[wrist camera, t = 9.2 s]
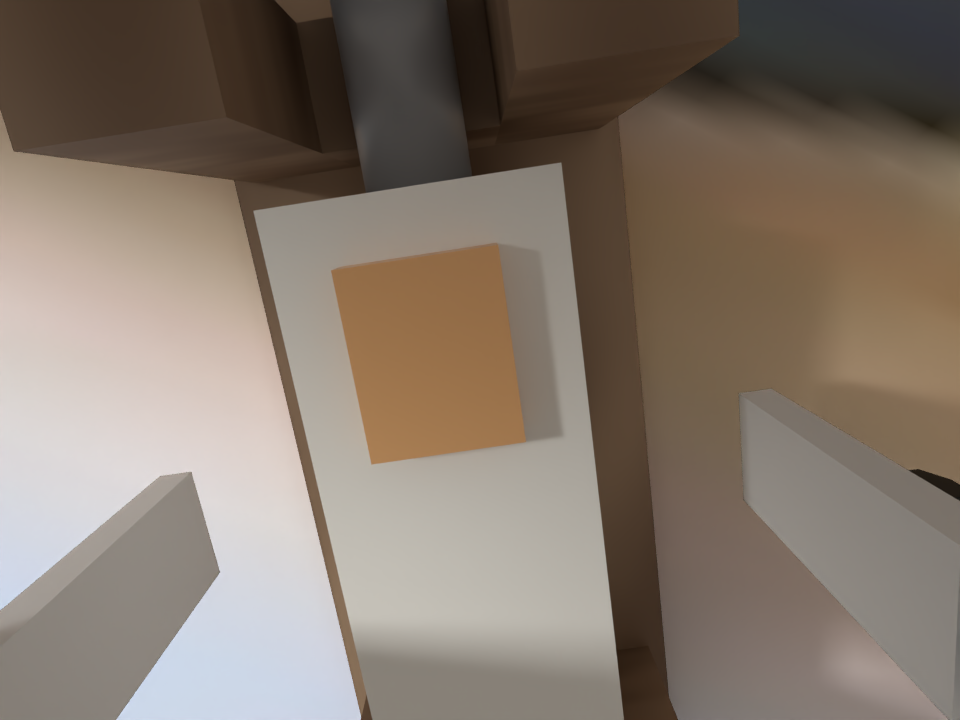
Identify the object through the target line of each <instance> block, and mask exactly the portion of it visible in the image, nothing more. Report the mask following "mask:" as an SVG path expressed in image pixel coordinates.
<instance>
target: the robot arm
mask: <svg viewBox="0 0 960 720" xmlns="http://www.w3.org/2000/svg"><path fill="white" fill-rule="evenodd" d="M739 414H740V435H741V456H742V477H743V498H744V501H745V502H746V503H747V504H748V505H749V506H750V507H751V508H752V509H753V510H754V512H755V513H756V514H757V515H758V516H759V517H760V518H761V519H762V520H763V521H764V522H765V523H766V524H767V525H768V527H769V528H770V529H771V530H772V531H773V532H774V533H775V534H776V535H777V536H778V537H779V538H780V539H781V540H782V542H783V543H784V544H785V545H786V546H787V547H788V548H789V549H790V550H791V551H792V552H793V553H794V554H795V556H796V557H797V558H798V559H799V560H800V561H801V562H802V563H803V564H804V565H805V566H806V567H807V568H808V569H809V571H810V572H811V573H812V574H813V575H814V576H815V577H816V578H817V579H818V580H819V581H820V582H821V583H822V584H823V586H824V587H825V588H826V589H827V590H828V591H829V592H830V593H831V594H832V595H833V596H834V597H835V598H836V599H837V601H838V602H839V603H840V604H841V605H842V606H843V607H844V608H845V609H846V610H847V611H848V612H849V613H850V614H851V616H852V617H853V618H854V619H855V620H856V621H857V622H858V623H859V624H860V625H861V626H862V627H863V628H864V630H865V631H866V632H867V633H868V634H869V635H870V636H871V637H872V638H873V639H874V640H875V641H876V642H877V643H878V645H879V646H880V647H881V648H882V649H883V650H884V651H885V652H886V653H887V654H888V655H889V656H890V657H891V658H892V660H893V661H894V662H895V663H896V664H897V665H898V666H899V667H900V668H901V669H902V670H903V671H904V672H905V673H906V675H907V676H908V677H909V678H910V679H911V680H912V681H913V682H914V683H915V684H916V685H917V686H918V687H919V688H920V690H921V691H922V692H923V693H924V694H925V695H926V696H927V697H928V698H929V699H930V700H931V701H932V702H933V703H934V705H935V706H936V707H937V708H938V709H939V710H940V711H941V712H942V713H943V714H944V715H945V716H946V717H947V719H948V720H960V484H958V483H956V482H954V481H953V480H950V479H947V478H944V477H941V476H938V475H935V474H932V473H928V472H925V471H922V470H919V469H916V470H907V469H905V468H904V467H902V466H900V465H899V464H897V463H895V462H893V461H892V460H890V459H888V458H887V457H885V456H883V455H882V454H880V453H878V452H877V451H875V450H873V449H872V448H870V447H868V446H867V445H865V444H863V443H862V442H860V441H858V440H857V439H855V438H853V437H852V436H850V435H848V434H847V433H845V432H843V431H842V430H840V429H838V428H837V427H835V426H833V425H832V424H830V423H828V422H826V421H825V420H823V419H821V418H820V417H818V416H816V415H815V414H813V413H811V412H810V411H808V410H806V409H805V408H803V407H801V406H800V405H798V404H796V403H795V402H793V401H791V400H790V399H788V398H786V397H785V396H783V395H781V394H780V393H778V392H776V391H775V390H773V389H765V390H758V391H751V392H744V393H739ZM219 573H220V571H219V567H218V564H217V560H216V557H215V553H214V550H213V546H212V543H211V539H210V536H209V532H208V529H207V525H206V522H205V518H204V515H203V511H202V508H201V504H200V501H199V497H198V494H197V490H196V487H195V483H194V480H193V476H192V473H191V472H186V473H179V474H172V475H165V476H160V477H159V478H157V479H156V480H155V481H154V482H153V483H151V484H150V485H149V486H148V487H147V488H145V489H144V490H143V491H142V492H141V493H140V494H138V495H137V496H136V497H135V498H134V499H132V500H131V501H130V502H129V503H128V504H126V505H125V506H124V507H123V508H122V509H121V510H119V511H118V512H117V513H116V514H115V515H113V516H112V517H111V518H110V519H109V520H107V521H106V522H105V523H104V524H103V525H101V526H100V527H99V528H98V529H97V530H96V531H94V532H93V533H92V534H91V535H90V536H88V537H87V538H86V539H85V540H84V541H82V542H81V543H80V544H79V545H78V546H77V547H75V548H74V549H73V550H72V551H71V552H69V553H68V554H67V555H66V556H65V557H63V558H62V559H61V560H60V561H59V562H58V563H56V564H55V565H54V566H53V567H52V568H50V569H49V570H48V571H47V572H46V573H44V574H43V575H42V576H41V577H40V578H38V579H37V580H36V581H35V582H34V583H33V584H31V585H30V586H29V587H28V588H27V589H25V590H24V591H23V592H22V593H21V594H19V595H18V596H17V597H16V598H15V599H14V600H12V601H11V602H10V603H9V604H8V605H6V606H5V607H4V608H3V609H2V610H0V720H116V719H117V717H118V716H119V715H120V713H121V712H122V710H123V709H124V708H125V706H126V705H127V703H128V702H129V700H130V699H131V698H132V696H133V695H134V693H135V692H136V691H137V689H138V688H139V686H140V685H141V683H142V682H143V681H144V679H145V678H146V676H147V675H148V674H149V672H150V671H151V669H152V668H153V666H154V665H155V664H156V662H157V661H158V659H159V658H160V657H161V655H162V654H163V652H164V651H165V649H166V648H167V647H168V645H169V644H170V642H171V641H172V640H173V638H174V637H175V635H176V634H177V632H178V631H179V630H180V628H181V627H182V625H183V624H184V623H185V621H186V620H187V618H188V617H189V615H190V614H191V613H192V611H193V610H194V608H195V607H196V606H197V604H198V603H199V601H200V600H201V599H202V597H203V596H204V594H205V593H206V591H207V590H208V589H209V587H210V586H211V584H212V583H213V582H214V580H215V579H216V577H217V576H218V574H219Z"/></svg>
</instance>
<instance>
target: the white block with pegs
mask: <svg viewBox="0 0 960 720" xmlns="http://www.w3.org/2000/svg"><path fill="white" fill-rule="evenodd" d="M330 5H331V10H332V15H333V21H334V26H335V31H336V37H337V42H338V47H339V52H340V58H341V63H342V68H343V74H344V79H345V84H346V90H347V95H348V100H349V105H350V111H351V116H352V121H353V127H354V132H355V137H356V142H357V148H358V153H359V158H360V164H361V169H362V174H363V179H364V185H365V190H366V193H363V194H357V195H350V196H344V197H338V198H331V199H325V200H318V201H312V202H306V203H299V204H293V205H287V206H280V207H274V208H267V209H261V210H255V211H253V212H254V216H255V220H256V225H257V229H258V233H259V237H260V242H261V246H262V250H263V254H264V259H265V263H266V267H267V272H268V276H269V280H270V284H271V289H272V293H273V297H274V301H275V306H276V310H277V314H278V319H279V323H280V327H281V331H282V336H283V340H284V344H285V348H286V353H287V357H288V361H289V366H290V370H291V374H292V378H293V383H294V387H295V391H296V395H297V400H298V404H299V408H300V413H301V417H302V421H303V425H304V430H305V434H306V438H307V442H308V447H309V451H310V455H311V460H312V464H313V468H314V472H315V477H316V481H317V485H318V489H319V494H320V498H321V502H322V507H323V511H324V515H325V519H326V524H327V528H328V532H329V536H330V541H331V545H332V549H333V554H334V558H335V562H336V566H337V571H338V575H339V579H340V583H341V588H342V592H343V596H344V601H345V605H346V609H347V613H348V618H349V622H350V626H351V630H352V635H353V639H354V643H355V648H356V652H357V656H358V660H359V665H360V669H361V673H362V677H363V682H364V686H365V690H366V695H367V699H368V703H369V707H370V712H371V716H372V720H624V716H623V707H622V698H621V689H620V680H619V671H618V662H617V653H616V644H615V636H614V627H613V618H612V609H611V600H610V591H609V582H608V573H607V564H606V555H605V547H604V538H603V529H602V520H601V511H600V502H599V493H598V484H597V475H596V467H595V458H594V449H593V440H592V431H591V422H590V413H589V404H588V395H587V386H586V378H585V369H584V360H583V351H582V342H581V333H580V324H579V315H578V306H577V298H576V289H575V280H574V271H573V262H572V253H571V244H570V235H569V226H568V217H567V209H566V200H565V191H564V182H563V173H562V164H561V163H555V164H548V165H542V166H536V167H529V168H523V169H516V170H510V171H504V172H497V173H491V174H485V175H478V176H472V171H471V165H470V158H469V151H468V144H467V137H466V131H465V124H464V117H463V110H462V103H461V97H460V90H459V83H458V76H457V69H456V63H455V56H454V49H453V42H452V35H451V29H450V22H449V15H448V8H447V1H446V0H330Z"/></svg>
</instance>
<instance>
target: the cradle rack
mask: <svg viewBox="0 0 960 720" xmlns="http://www.w3.org/2000/svg"><path fill="white" fill-rule="evenodd" d="M446 1H447V8H448V15H449V22H450V29H451V35H452V42H453V49H454V56H455V63H456V69H457V76H458V83H459V90H460V97H461V103H462V110H463V117H464V124H465V131H466V137H467V144H468V151H469V158H470V165H471V171H472V176H478V175H485V174H491V173H497V172H504V171H510V170H516V169H523V168H529V167H536V166H542V165H548V164H555V163H561V164H562V173H563V182H564V191H565V200H566V209H567V217H568V226H569V235H570V244H571V253H572V262H573V271H574V280H575V289H576V298H577V306H578V315H579V324H580V333H581V342H582V351H583V360H584V369H585V378H586V386H587V395H588V404H589V413H590V422H591V431H592V440H593V449H594V458H595V467H596V475H597V484H598V493H599V502H600V511H601V520H602V529H603V538H604V547H605V555H606V564H607V573H608V582H609V591H610V600H611V609H612V618H613V627H614V636H615V644H616V653H617V662H618V671H619V680H620V689H621V698H622V707H623V716H624V720H678V719H677V716H676V714H675V711H674V709H673V706H672V704H671V701H670V699H669V694H668V683H667V671H666V660H665V648H664V637H663V626H662V614H661V603H660V591H659V580H658V569H657V557H656V546H655V535H654V523H653V512H652V500H651V489H650V478H649V466H648V455H647V443H646V432H645V421H644V409H643V398H642V387H641V375H640V364H639V352H638V341H637V330H636V318H635V307H634V295H633V284H632V273H631V261H630V250H629V239H628V227H627V216H626V204H625V193H624V182H623V170H622V159H621V147H620V136H619V125H618V116H619V115H621V114H622V113H624V112H625V111H627V110H628V109H630V108H631V107H633V106H634V105H636V104H637V103H639V102H640V101H642V100H643V99H645V98H646V97H648V96H649V95H651V94H652V93H654V92H655V91H657V90H658V89H660V88H661V87H663V86H664V85H666V84H667V83H669V82H670V81H672V80H673V79H675V78H676V77H678V76H679V75H681V74H682V73H684V72H685V71H687V70H688V69H690V68H691V67H693V66H694V65H696V64H697V63H699V62H700V61H702V60H703V59H705V58H706V57H708V56H709V55H711V54H712V53H714V52H715V51H717V50H718V49H720V48H721V47H723V46H724V45H726V44H727V43H729V42H730V41H732V40H734V39H735V38H737V37H738V36H739V13H738V0H446ZM0 110H1V113H2V116H3V119H4V122H5V125H6V128H7V132H8V135H9V138H10V141H11V144H12V147H13V150H14V151H15V152H23V153H31V154H38V155H46V156H54V157H61V158H69V159H77V160H84V161H92V162H100V163H107V164H115V165H123V166H130V167H138V168H146V169H153V170H161V171H169V172H176V173H184V174H192V175H199V176H207V177H214V178H222V179H230V180H234V182H235V186H236V190H237V194H238V198H239V203H240V207H241V211H242V215H243V220H244V224H245V228H246V232H247V236H248V241H249V245H250V249H251V253H252V258H253V262H254V266H255V270H256V274H257V279H258V283H259V287H260V291H261V295H262V300H263V304H264V308H265V312H266V317H267V321H268V325H269V329H270V333H271V338H272V342H273V346H274V350H275V355H276V359H277V363H278V367H279V371H280V376H281V380H282V384H283V388H284V393H285V397H286V401H287V405H288V409H289V414H290V418H291V422H292V426H293V430H294V435H295V439H296V443H297V447H298V452H299V456H300V460H301V464H302V468H303V473H304V477H305V481H306V485H307V490H308V494H309V498H310V502H311V506H312V511H313V515H314V519H315V523H316V528H317V532H318V536H319V540H320V544H321V549H322V553H323V557H324V561H325V565H326V570H327V574H328V578H329V582H330V587H331V591H332V595H333V599H334V603H335V608H336V612H337V616H338V620H339V625H340V629H341V633H342V637H343V641H344V646H345V650H346V654H347V658H348V662H349V667H350V671H351V675H352V679H353V684H354V688H355V692H356V696H357V700H358V705H359V709H360V713H361V720H372V716H371V712H370V707H369V703H368V699H367V695H366V690H365V686H364V682H363V677H362V673H361V669H360V665H359V660H358V656H357V652H356V648H355V643H354V639H353V635H352V630H351V626H350V622H349V618H348V613H347V609H346V605H345V601H344V596H343V592H342V588H341V583H340V579H339V575H338V571H337V566H336V562H335V558H334V554H333V549H332V545H331V541H330V536H329V532H328V528H327V524H326V519H325V515H324V511H323V507H322V502H321V498H320V494H319V489H318V485H317V481H316V477H315V472H314V468H313V464H312V460H311V455H310V451H309V447H308V442H307V438H306V434H305V430H304V425H303V421H302V417H301V413H300V408H299V404H298V400H297V395H296V391H295V387H294V383H293V378H292V374H291V370H290V366H289V361H288V357H287V353H286V348H285V344H284V340H283V336H282V331H281V327H280V323H279V319H278V314H277V310H276V306H275V301H274V297H273V293H272V289H271V284H270V280H269V276H268V272H267V267H266V263H265V259H264V254H263V250H262V246H261V242H260V237H259V233H258V229H257V225H256V220H255V216H254V212H253V211H255V210H261V209H267V208H274V207H280V206H287V205H293V204H299V203H306V202H312V201H318V200H325V199H331V198H338V197H344V196H350V195H357V194H363V193H366V190H365V185H364V179H363V174H362V169H361V164H360V158H359V153H358V148H357V142H356V137H355V132H354V127H353V121H352V116H351V111H350V105H349V100H348V95H347V90H346V84H345V79H344V74H343V68H342V63H341V58H340V52H339V47H338V42H337V37H336V31H335V26H334V21H333V15H332V10H331V5H330V0H0Z"/></svg>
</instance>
